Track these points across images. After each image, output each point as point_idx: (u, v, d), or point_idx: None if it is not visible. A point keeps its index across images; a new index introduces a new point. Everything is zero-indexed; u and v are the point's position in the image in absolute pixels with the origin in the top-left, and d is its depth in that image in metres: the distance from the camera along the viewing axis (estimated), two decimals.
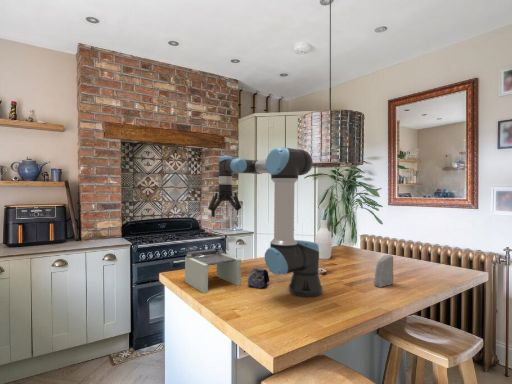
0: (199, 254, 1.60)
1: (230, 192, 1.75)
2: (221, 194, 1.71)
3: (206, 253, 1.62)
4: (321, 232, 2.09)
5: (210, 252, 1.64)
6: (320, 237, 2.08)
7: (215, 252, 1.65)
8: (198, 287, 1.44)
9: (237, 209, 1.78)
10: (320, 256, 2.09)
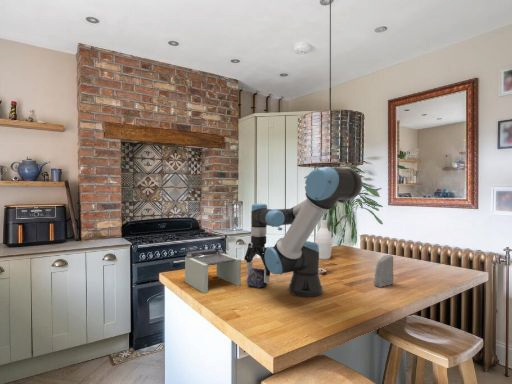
0: (199, 254, 1.60)
1: (260, 246, 1.49)
2: (252, 246, 1.54)
3: (206, 253, 1.62)
4: (321, 232, 2.09)
5: (210, 252, 1.64)
6: (320, 237, 2.08)
7: (215, 252, 1.65)
8: (198, 287, 1.44)
9: None
10: (320, 256, 2.09)
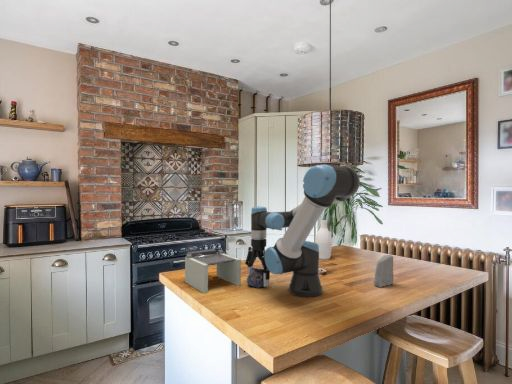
0: (199, 254, 1.60)
1: (260, 249, 1.49)
2: (253, 249, 1.54)
3: (206, 253, 1.62)
4: (321, 232, 2.09)
5: (210, 252, 1.64)
6: (320, 237, 2.08)
7: (215, 252, 1.65)
8: (198, 287, 1.44)
9: (265, 272, 1.46)
10: (320, 256, 2.09)
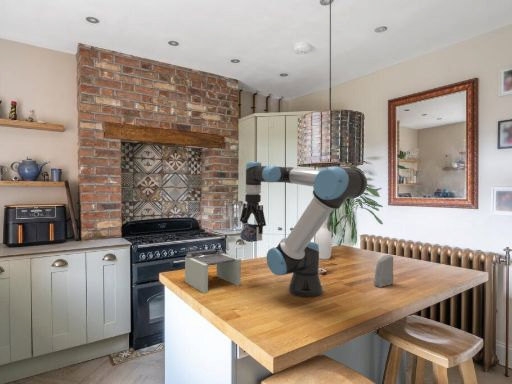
0: (199, 254, 1.60)
1: (254, 203, 1.49)
2: (247, 205, 1.54)
3: (206, 253, 1.62)
4: (321, 232, 2.09)
5: (210, 252, 1.64)
6: (320, 237, 2.08)
7: (215, 252, 1.65)
8: (198, 287, 1.44)
9: (258, 226, 1.46)
10: (320, 256, 2.09)
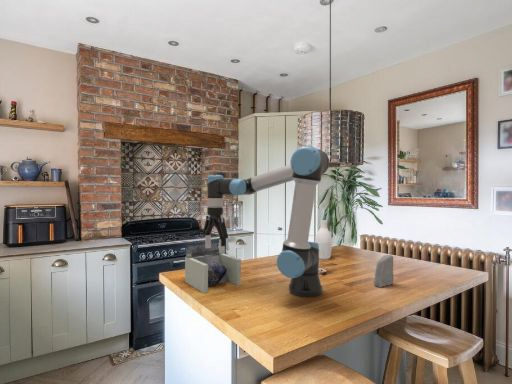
0: (200, 252, 1.59)
1: (216, 217, 1.49)
2: (209, 218, 1.54)
3: (207, 252, 1.61)
4: (321, 232, 2.09)
5: (212, 251, 1.62)
6: (320, 237, 2.08)
7: (216, 250, 1.64)
8: (198, 287, 1.44)
9: None
10: (320, 256, 2.09)
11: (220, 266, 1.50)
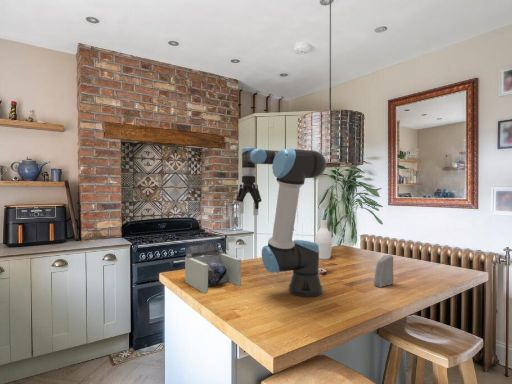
0: (200, 252, 1.59)
1: (249, 184, 1.69)
2: (243, 186, 1.74)
3: (207, 252, 1.61)
4: (321, 232, 2.09)
5: (212, 251, 1.62)
6: (320, 237, 2.08)
7: (216, 250, 1.64)
8: (198, 287, 1.44)
9: None
10: (320, 256, 2.09)
11: (220, 266, 1.50)
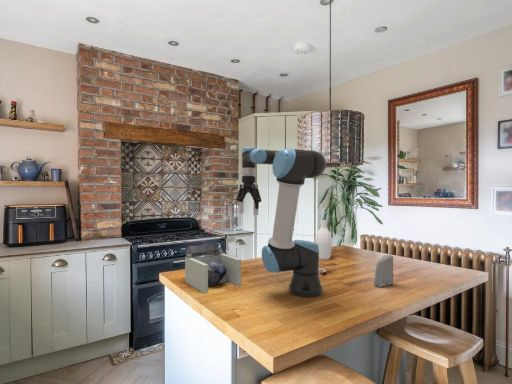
0: (200, 252, 1.59)
1: (249, 184, 1.69)
2: (243, 186, 1.74)
3: (207, 252, 1.61)
4: (321, 232, 2.09)
5: (212, 251, 1.62)
6: (320, 237, 2.08)
7: (216, 250, 1.64)
8: (198, 287, 1.44)
9: None
10: (320, 256, 2.09)
11: (220, 266, 1.50)
